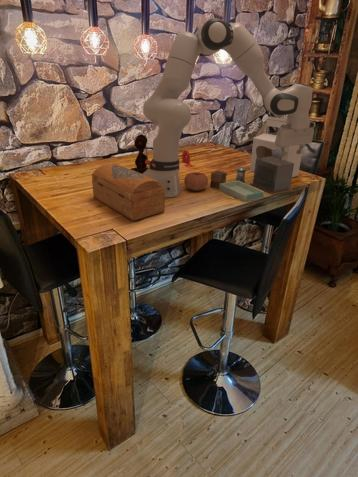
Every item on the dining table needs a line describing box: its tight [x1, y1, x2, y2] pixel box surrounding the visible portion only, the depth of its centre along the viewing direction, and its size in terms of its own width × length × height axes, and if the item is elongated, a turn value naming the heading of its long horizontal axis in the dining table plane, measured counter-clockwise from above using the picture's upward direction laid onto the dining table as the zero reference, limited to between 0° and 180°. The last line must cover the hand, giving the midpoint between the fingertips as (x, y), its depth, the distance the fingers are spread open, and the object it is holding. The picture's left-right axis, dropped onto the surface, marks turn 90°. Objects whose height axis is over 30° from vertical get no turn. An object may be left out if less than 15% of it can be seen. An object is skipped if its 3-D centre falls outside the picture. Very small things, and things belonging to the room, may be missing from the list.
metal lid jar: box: [235, 166, 246, 183], centre depth 171 cm, size 4×4×7 cm
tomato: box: [183, 171, 209, 192], centre depth 160 cm, size 11×11×8 cm
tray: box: [219, 180, 266, 203], centre depth 157 cm, size 11×18×3 cm, turn 30°
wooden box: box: [91, 163, 166, 222], centre depth 140 cm, size 30×16×14 cm, turn 39°
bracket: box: [181, 149, 195, 168], centre depth 195 cm, size 12×4×8 cm, turn 28°
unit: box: [249, 155, 294, 196], centre depth 163 cm, size 12×16×13 cm
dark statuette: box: [130, 134, 149, 174], centre depth 172 cm, size 15×15×20 cm
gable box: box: [249, 116, 304, 178], centre depth 182 cm, size 22×13×28 cm, turn 41°
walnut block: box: [210, 170, 227, 191], centre depth 163 cm, size 5×5×7 cm
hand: (291, 155), depth 161 cm, fingers open, 8 cm apart
